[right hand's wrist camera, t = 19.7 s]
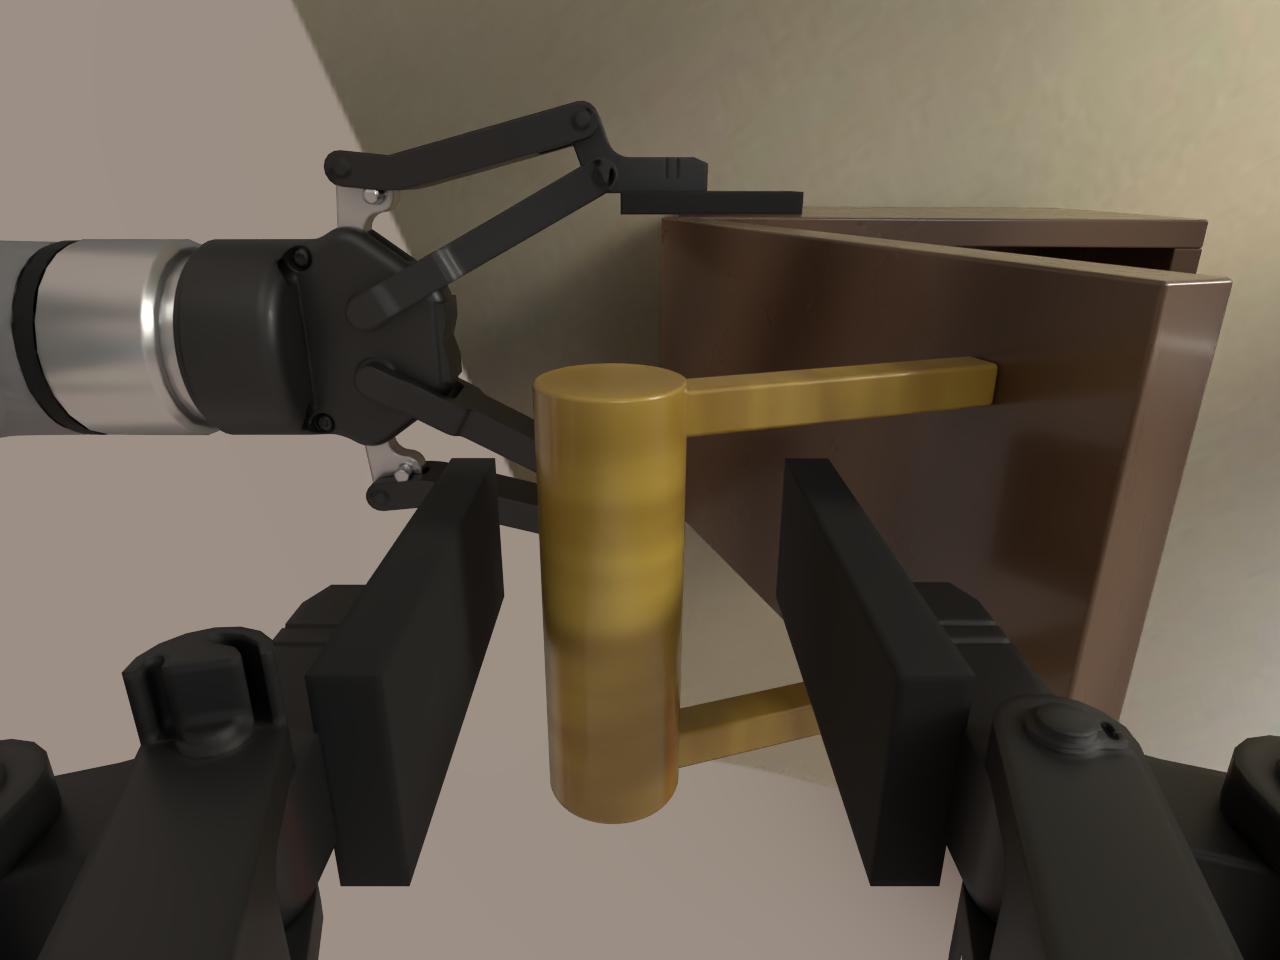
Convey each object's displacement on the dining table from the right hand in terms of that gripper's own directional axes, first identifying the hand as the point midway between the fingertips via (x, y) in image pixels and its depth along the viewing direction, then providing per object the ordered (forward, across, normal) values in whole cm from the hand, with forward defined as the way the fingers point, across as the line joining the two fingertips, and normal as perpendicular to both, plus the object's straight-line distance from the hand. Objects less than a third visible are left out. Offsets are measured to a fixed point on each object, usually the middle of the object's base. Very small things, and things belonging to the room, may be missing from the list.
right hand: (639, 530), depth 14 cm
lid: (+6, +5, 0) cm, 7 cm away
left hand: (+18, +6, 0) cm, 19 cm away
